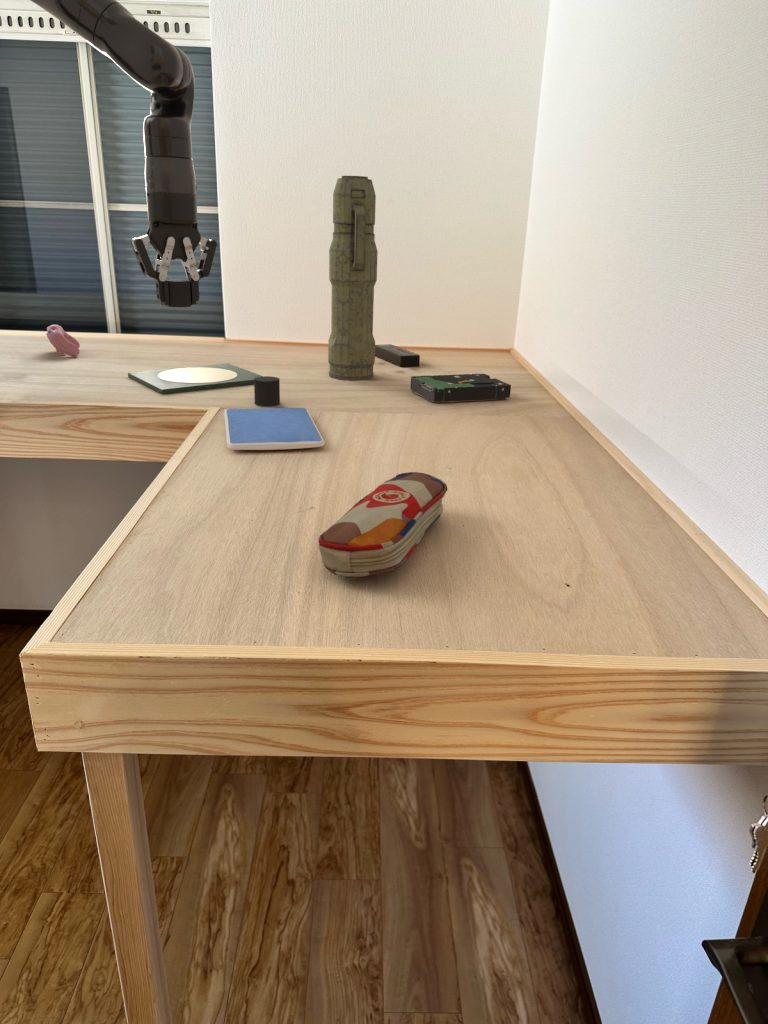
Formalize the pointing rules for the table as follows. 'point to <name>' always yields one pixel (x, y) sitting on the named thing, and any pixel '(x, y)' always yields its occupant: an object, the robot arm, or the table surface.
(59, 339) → the pink bird figurine
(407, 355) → the multiport hub
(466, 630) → the table surface
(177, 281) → the dark round peg
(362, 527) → the pencil case
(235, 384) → the board
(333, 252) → the thermos
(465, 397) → the disk drive
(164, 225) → the robot arm
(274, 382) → the black cylinder puck
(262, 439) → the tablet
